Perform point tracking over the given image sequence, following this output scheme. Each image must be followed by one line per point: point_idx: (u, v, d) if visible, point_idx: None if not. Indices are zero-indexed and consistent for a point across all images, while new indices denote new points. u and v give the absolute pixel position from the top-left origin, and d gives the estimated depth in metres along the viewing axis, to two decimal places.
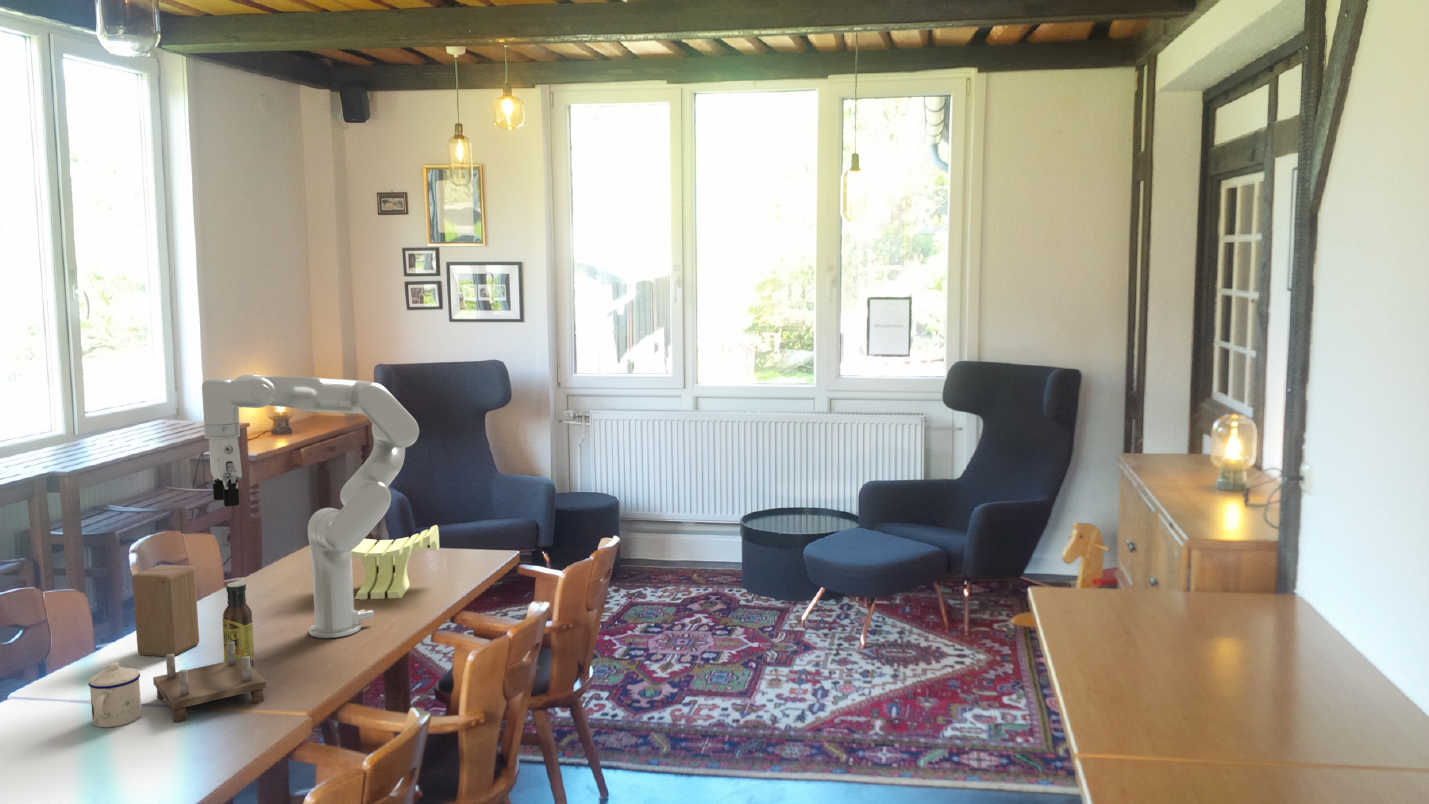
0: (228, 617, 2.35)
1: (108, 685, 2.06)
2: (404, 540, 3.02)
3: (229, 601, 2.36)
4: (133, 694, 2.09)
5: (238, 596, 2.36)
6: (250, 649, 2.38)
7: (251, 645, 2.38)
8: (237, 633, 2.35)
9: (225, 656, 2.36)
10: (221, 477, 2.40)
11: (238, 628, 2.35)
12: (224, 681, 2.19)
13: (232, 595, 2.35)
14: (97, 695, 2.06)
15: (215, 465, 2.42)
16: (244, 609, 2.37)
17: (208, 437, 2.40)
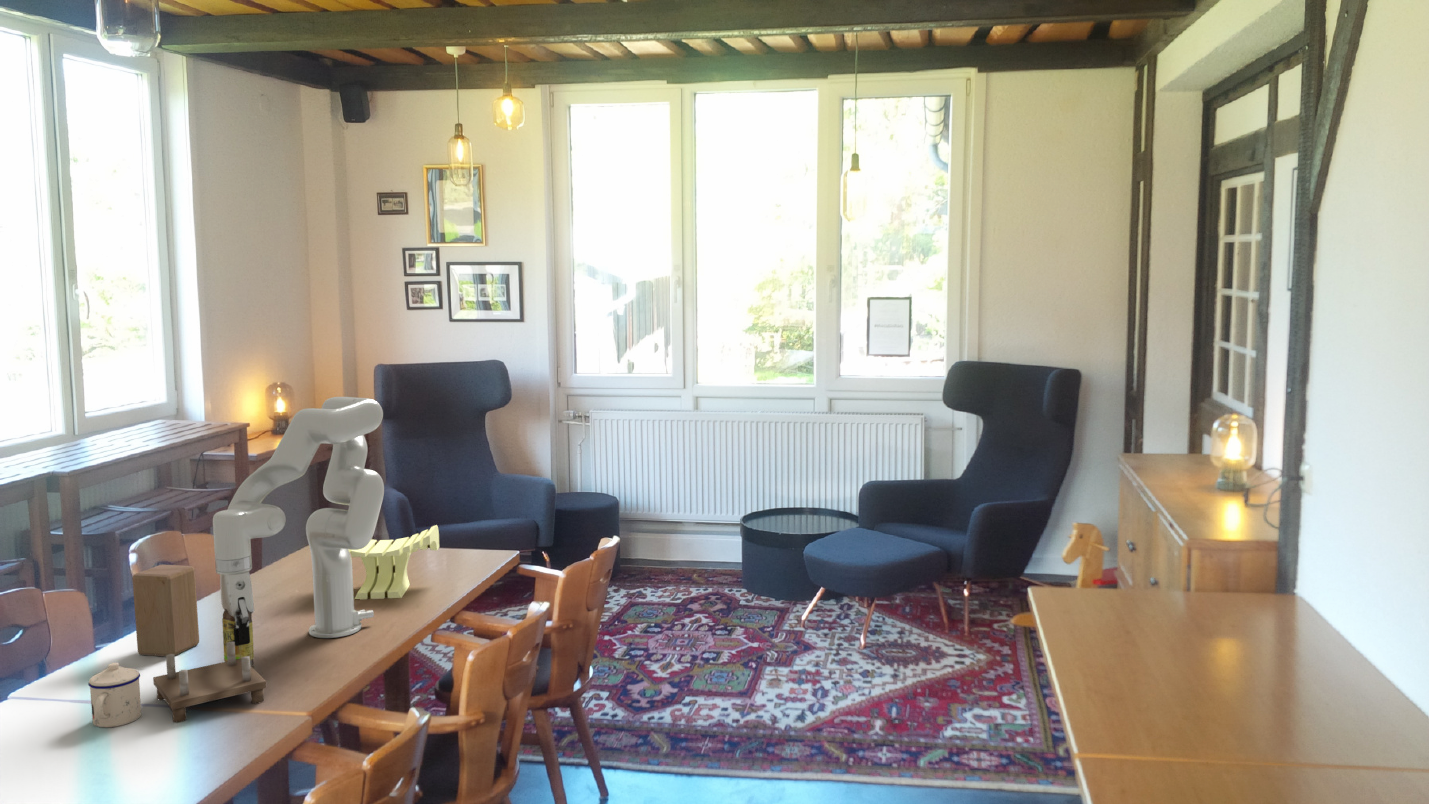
0: (227, 617, 2.35)
1: (108, 685, 2.06)
2: (404, 540, 3.02)
3: None
4: (133, 694, 2.09)
5: None
6: (250, 649, 2.38)
7: (251, 645, 2.38)
8: None
9: (225, 656, 2.36)
10: (233, 614, 2.33)
11: None
12: (224, 681, 2.19)
13: None
14: (97, 695, 2.06)
15: (226, 601, 2.34)
16: None
17: (219, 572, 2.33)
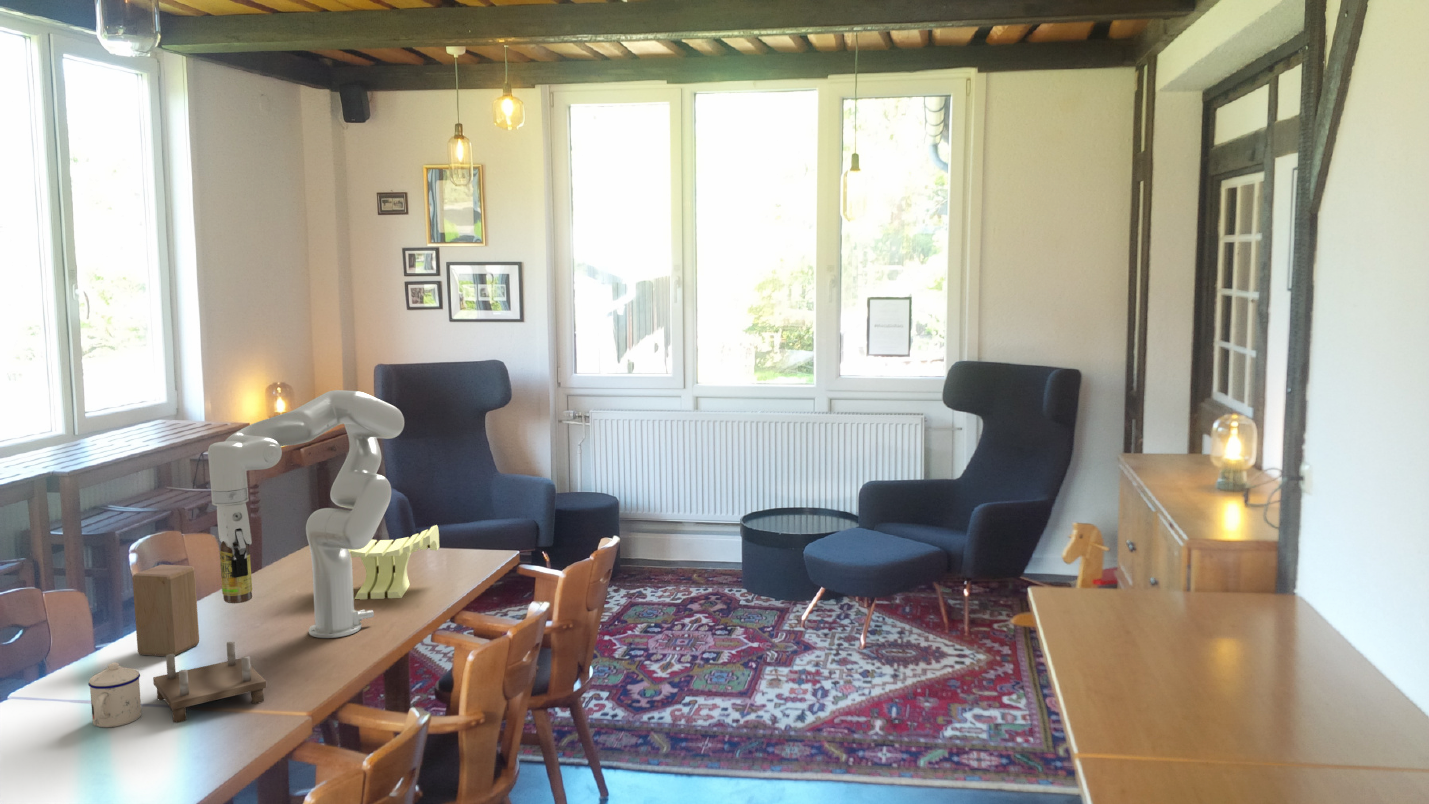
0: (225, 549, 2.34)
1: (108, 685, 2.06)
2: (404, 540, 3.02)
3: None
4: (133, 694, 2.09)
5: None
6: (248, 581, 2.37)
7: (249, 577, 2.37)
8: None
9: (223, 588, 2.35)
10: (230, 545, 2.32)
11: None
12: (224, 681, 2.19)
13: None
14: (97, 695, 2.06)
15: (224, 532, 2.33)
16: None
17: (216, 503, 2.32)
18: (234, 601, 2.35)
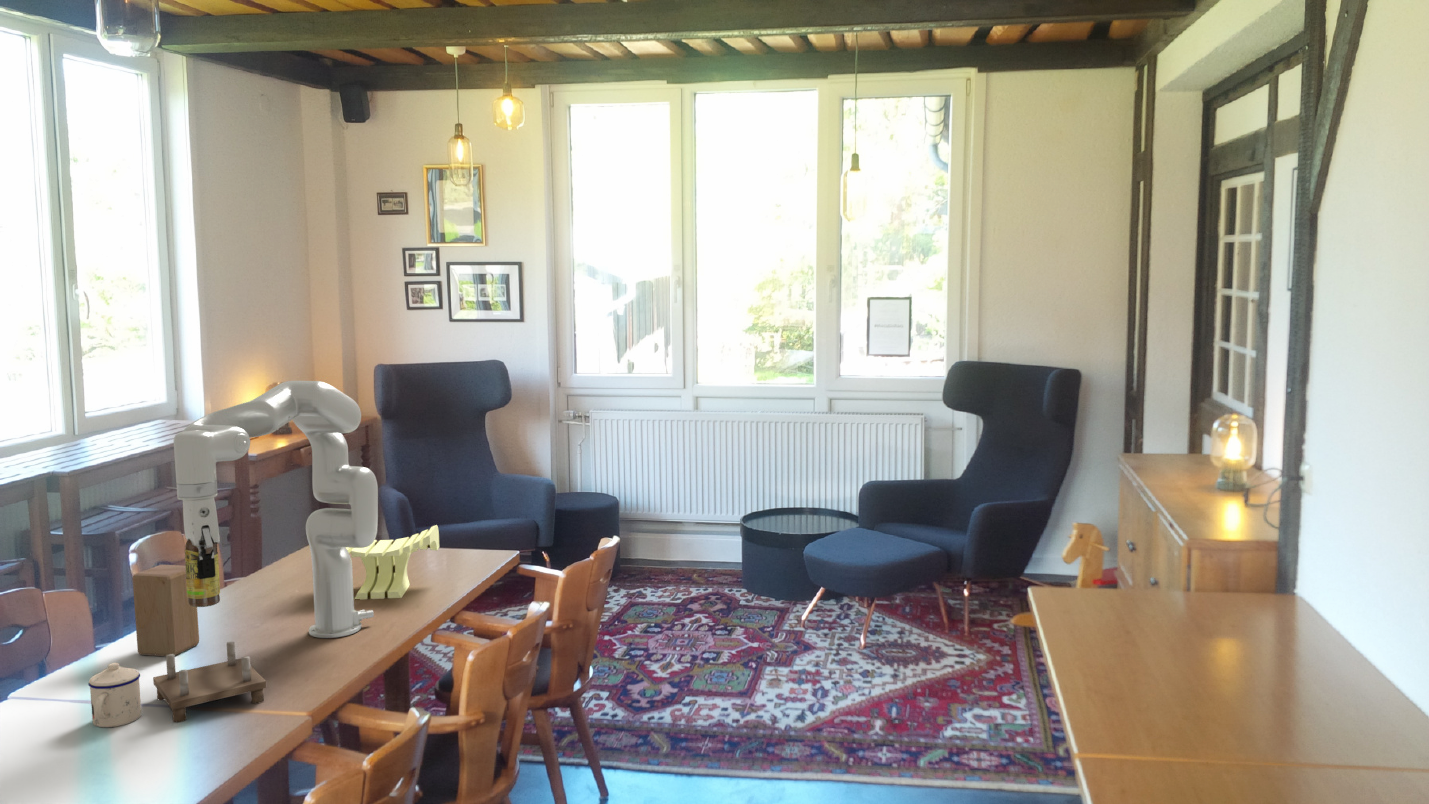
0: (190, 547, 2.14)
1: (108, 685, 2.06)
2: (404, 540, 3.02)
3: None
4: (133, 694, 2.09)
5: None
6: (215, 583, 2.17)
7: (217, 579, 2.18)
8: None
9: (188, 591, 2.16)
10: (196, 543, 2.12)
11: None
12: (224, 681, 2.19)
13: None
14: (97, 695, 2.06)
15: (189, 529, 2.14)
16: None
17: (181, 498, 2.12)
18: (199, 604, 2.16)
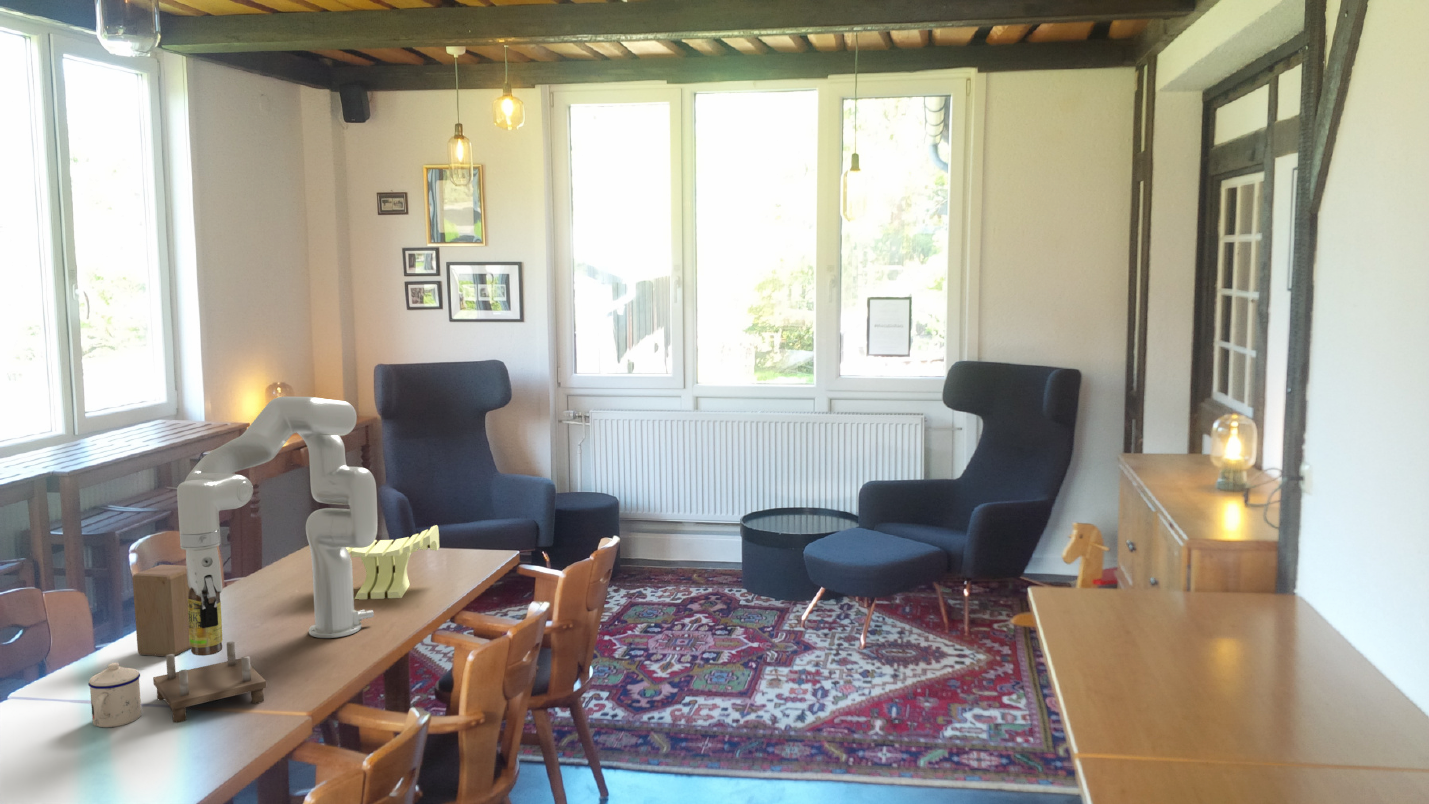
0: (193, 596, 2.15)
1: (108, 685, 2.06)
2: (404, 540, 3.02)
3: None
4: (133, 694, 2.09)
5: None
6: (218, 632, 2.18)
7: (219, 627, 2.19)
8: None
9: (190, 639, 2.17)
10: (199, 593, 2.13)
11: None
12: (224, 681, 2.19)
13: None
14: (97, 695, 2.06)
15: (192, 579, 2.15)
16: None
17: (184, 547, 2.13)
18: (202, 653, 2.16)
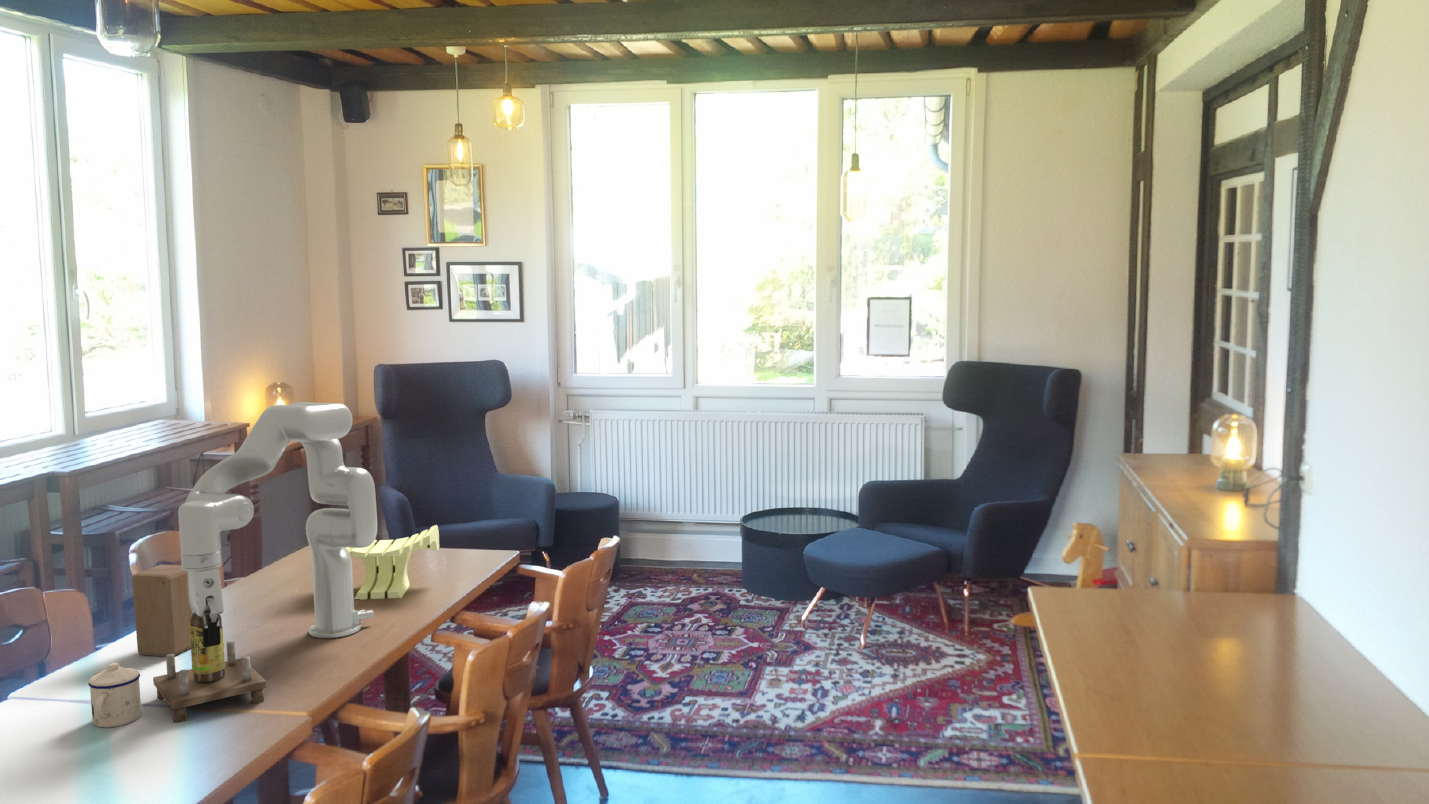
0: (195, 623, 2.16)
1: (108, 685, 2.06)
2: (404, 540, 3.02)
3: None
4: (133, 694, 2.09)
5: None
6: (220, 658, 2.19)
7: (221, 653, 2.19)
8: None
9: (193, 666, 2.18)
10: (200, 614, 2.14)
11: None
12: (224, 681, 2.19)
13: None
14: (97, 695, 2.06)
15: (193, 600, 2.15)
16: None
17: (186, 569, 2.14)
18: (205, 680, 2.17)
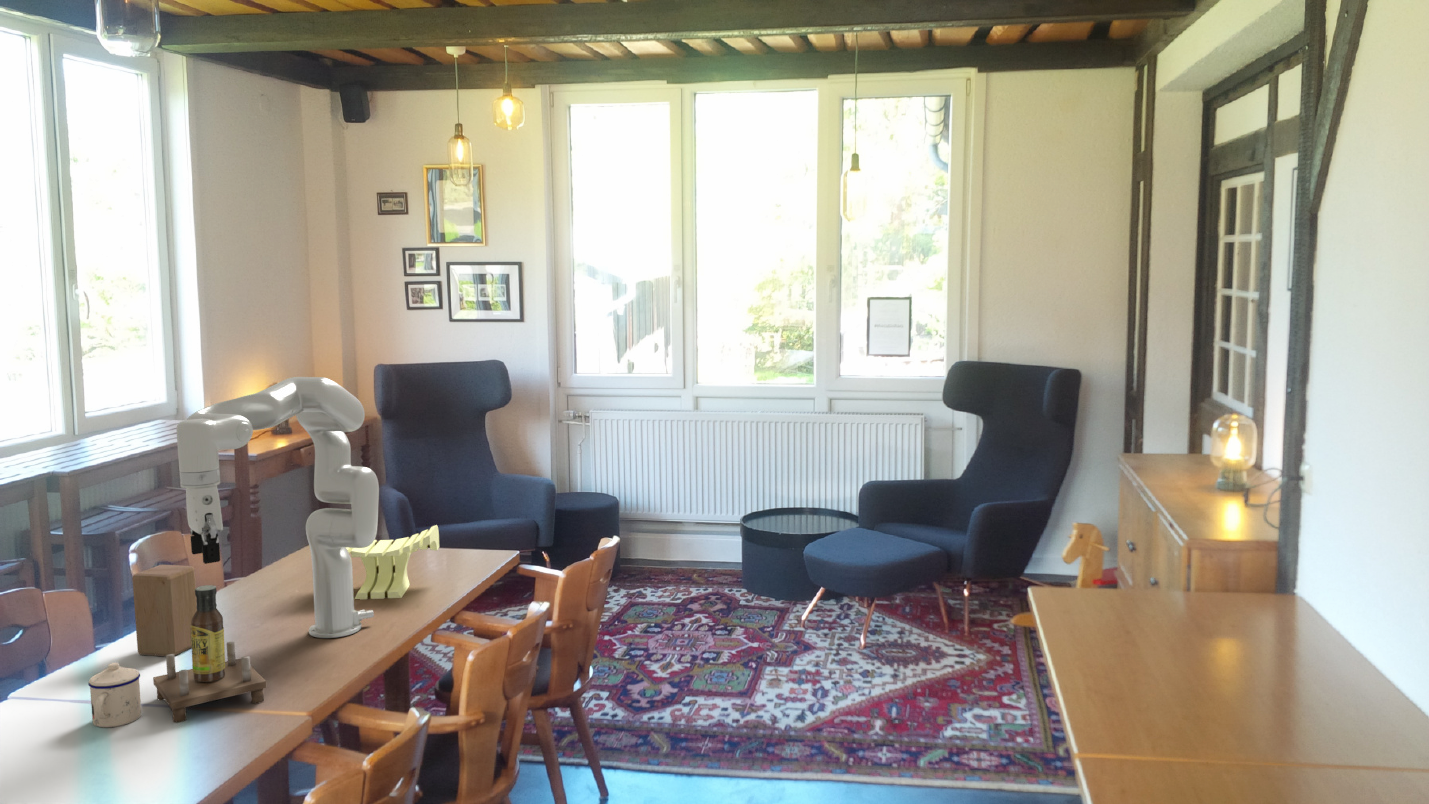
0: (196, 623, 2.16)
1: (108, 685, 2.06)
2: (404, 540, 3.02)
3: (198, 606, 2.17)
4: (133, 694, 2.09)
5: (208, 600, 2.17)
6: (220, 658, 2.19)
7: (222, 654, 2.19)
8: (206, 641, 2.16)
9: (193, 666, 2.18)
10: (199, 531, 2.14)
11: (207, 636, 2.16)
12: (224, 681, 2.19)
13: (201, 600, 2.17)
14: (97, 695, 2.06)
15: (192, 517, 2.15)
16: (214, 615, 2.18)
17: (184, 486, 2.14)
18: (205, 680, 2.17)
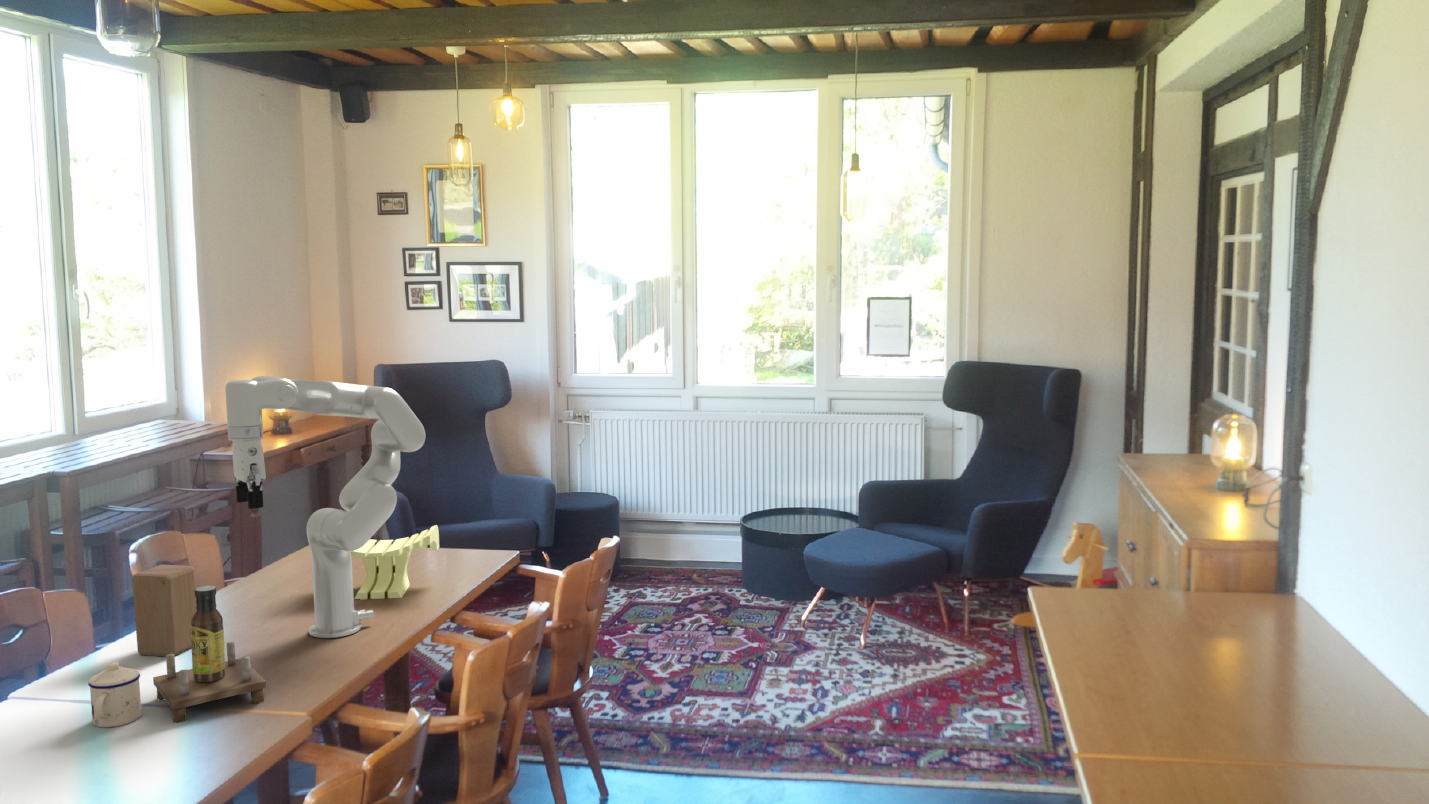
0: (196, 624, 2.16)
1: (108, 685, 2.06)
2: (404, 540, 3.02)
3: (198, 606, 2.17)
4: (133, 694, 2.09)
5: (208, 601, 2.17)
6: (220, 658, 2.19)
7: (222, 654, 2.19)
8: (206, 642, 2.16)
9: (193, 666, 2.18)
10: (245, 479, 2.39)
11: (207, 636, 2.16)
12: (224, 681, 2.19)
13: (201, 600, 2.16)
14: (97, 695, 2.06)
15: (239, 467, 2.40)
16: (214, 615, 2.18)
17: (232, 439, 2.39)
18: (205, 680, 2.17)
